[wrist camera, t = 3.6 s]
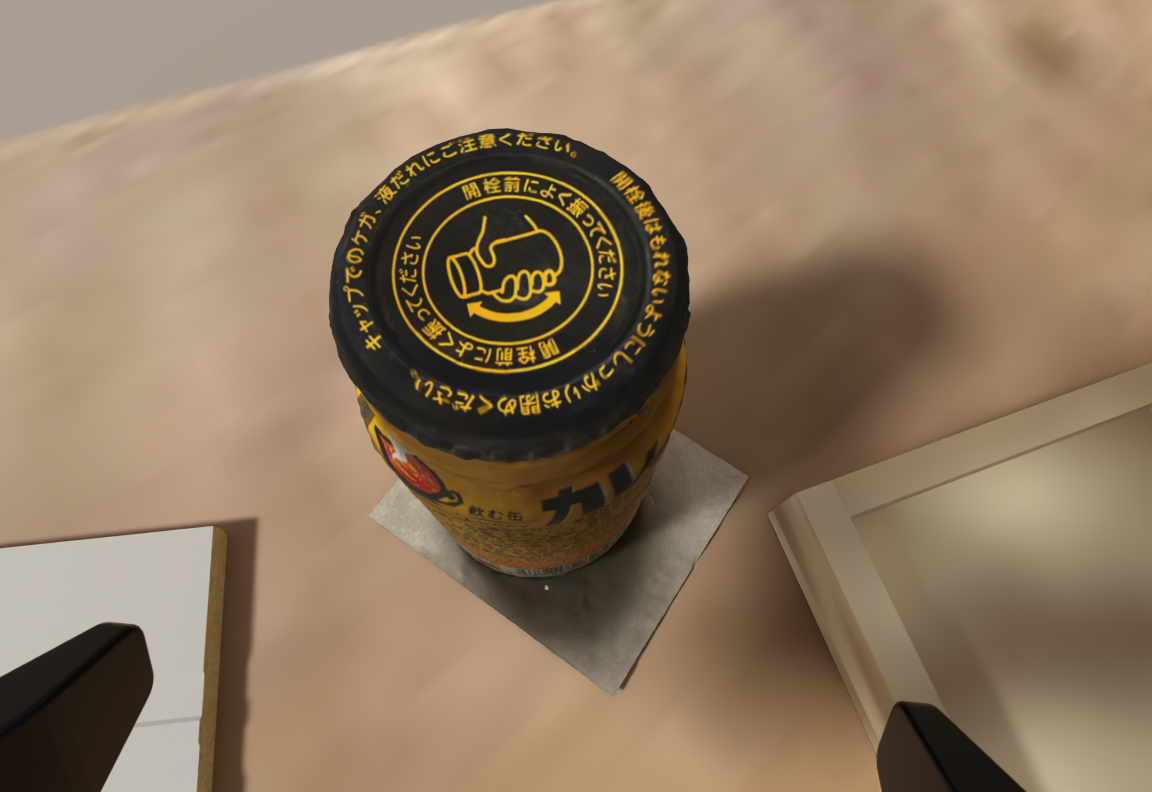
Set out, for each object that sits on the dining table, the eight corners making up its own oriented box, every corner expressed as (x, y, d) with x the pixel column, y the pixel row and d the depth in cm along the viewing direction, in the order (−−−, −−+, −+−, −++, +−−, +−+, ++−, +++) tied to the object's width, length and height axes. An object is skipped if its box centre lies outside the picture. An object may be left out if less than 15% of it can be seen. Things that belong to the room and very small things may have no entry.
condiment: (518, 331, 23) (468, 9, 11) (747, 478, 21) (951, 271, 10) (370, 517, 21) (129, 346, 9) (612, 696, 19) (675, 753, 8)
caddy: (1446, 821, 18) (1597, 849, 15) (1006, 1039, 16) (1090, 1112, 14) (1141, 375, 22) (1218, 338, 20) (767, 513, 21) (796, 492, 18)
